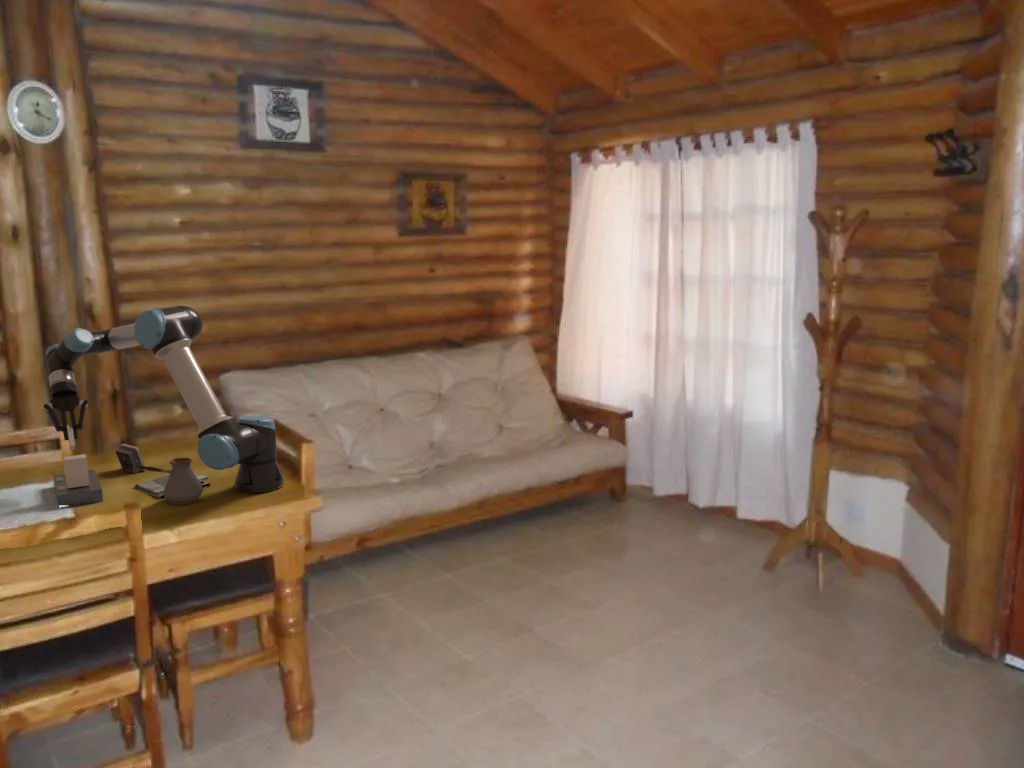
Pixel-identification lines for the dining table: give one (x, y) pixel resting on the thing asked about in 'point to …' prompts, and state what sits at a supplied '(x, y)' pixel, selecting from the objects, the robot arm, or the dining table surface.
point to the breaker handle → (76, 471)
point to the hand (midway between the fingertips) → (72, 447)
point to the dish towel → (162, 485)
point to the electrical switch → (130, 458)
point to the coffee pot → (179, 482)
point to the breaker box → (78, 491)
